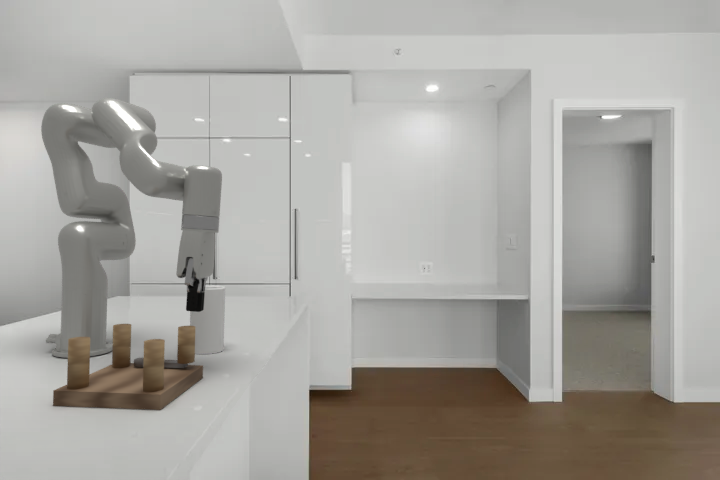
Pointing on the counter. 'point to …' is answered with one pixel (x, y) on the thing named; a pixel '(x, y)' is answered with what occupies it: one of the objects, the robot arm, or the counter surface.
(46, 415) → the counter surface
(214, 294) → the cup
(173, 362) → the hinged leg
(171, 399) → the stool seat
